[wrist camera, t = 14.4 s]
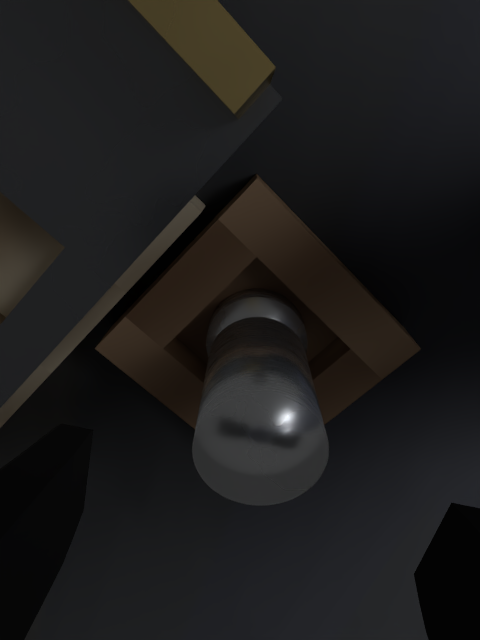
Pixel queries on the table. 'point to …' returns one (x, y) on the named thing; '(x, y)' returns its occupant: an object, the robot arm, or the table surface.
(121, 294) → the socket board
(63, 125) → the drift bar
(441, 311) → the table surface
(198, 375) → the frame
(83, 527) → the table surface
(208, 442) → the steel peg
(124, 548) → the table surface
